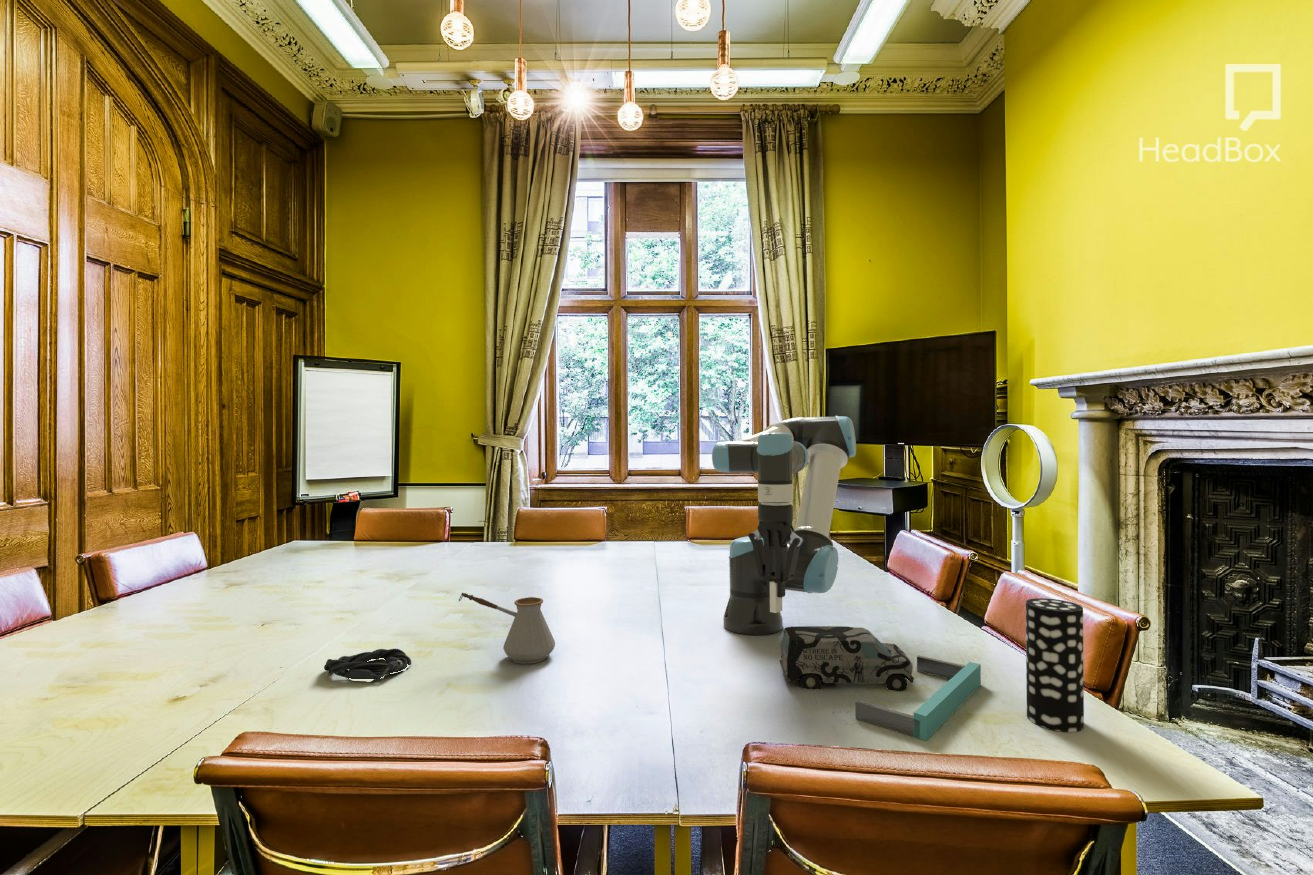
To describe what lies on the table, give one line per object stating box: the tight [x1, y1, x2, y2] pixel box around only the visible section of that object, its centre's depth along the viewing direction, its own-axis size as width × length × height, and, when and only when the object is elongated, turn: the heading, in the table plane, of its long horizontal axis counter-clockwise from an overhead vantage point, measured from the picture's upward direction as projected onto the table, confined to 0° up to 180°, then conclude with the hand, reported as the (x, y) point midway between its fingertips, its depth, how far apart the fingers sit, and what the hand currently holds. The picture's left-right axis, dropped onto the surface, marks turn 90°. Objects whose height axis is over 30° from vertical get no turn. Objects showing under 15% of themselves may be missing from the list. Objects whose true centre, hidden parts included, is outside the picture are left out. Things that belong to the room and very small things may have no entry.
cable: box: [323, 648, 412, 680], centre depth 135 cm, size 17×14×4 cm
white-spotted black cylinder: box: [1025, 597, 1085, 733], centre depth 108 cm, size 8×8×20 cm
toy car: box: [779, 625, 915, 692], centre depth 127 cm, size 11×25×10 cm, turn 86°
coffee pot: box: [458, 592, 556, 665], centre depth 142 cm, size 21×12×15 cm, turn 91°
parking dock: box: [854, 654, 982, 741], centre depth 117 cm, size 12×30×4 cm, turn 138°
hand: (776, 611), depth 137 cm, fingers closed
